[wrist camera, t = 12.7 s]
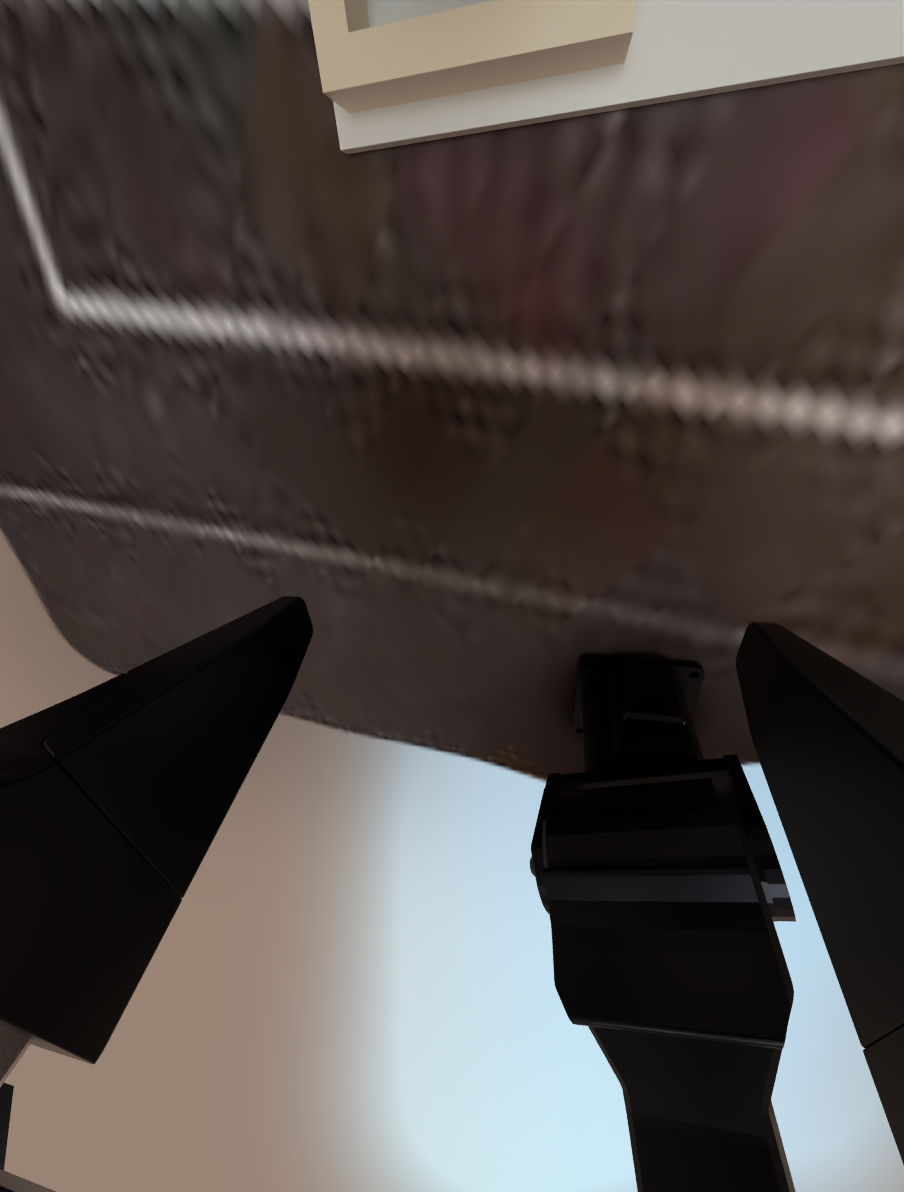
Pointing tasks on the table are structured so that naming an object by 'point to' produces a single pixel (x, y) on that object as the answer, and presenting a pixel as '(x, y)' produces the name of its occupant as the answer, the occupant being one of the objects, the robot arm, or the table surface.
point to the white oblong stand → (572, 57)
